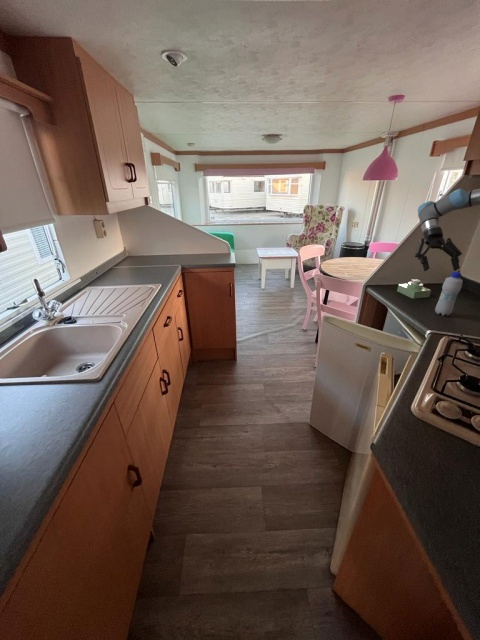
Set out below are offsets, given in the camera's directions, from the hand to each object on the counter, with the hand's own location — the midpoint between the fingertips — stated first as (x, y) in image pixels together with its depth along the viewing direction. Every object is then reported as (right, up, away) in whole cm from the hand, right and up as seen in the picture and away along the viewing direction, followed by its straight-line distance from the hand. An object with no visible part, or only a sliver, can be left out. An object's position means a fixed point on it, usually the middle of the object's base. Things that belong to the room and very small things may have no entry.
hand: (441, 269), depth 123 cm
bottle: (0, -21, 0) cm, 21 cm away
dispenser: (+1, -9, +23) cm, 25 cm away
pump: (+1, -4, +20) cm, 21 cm away
